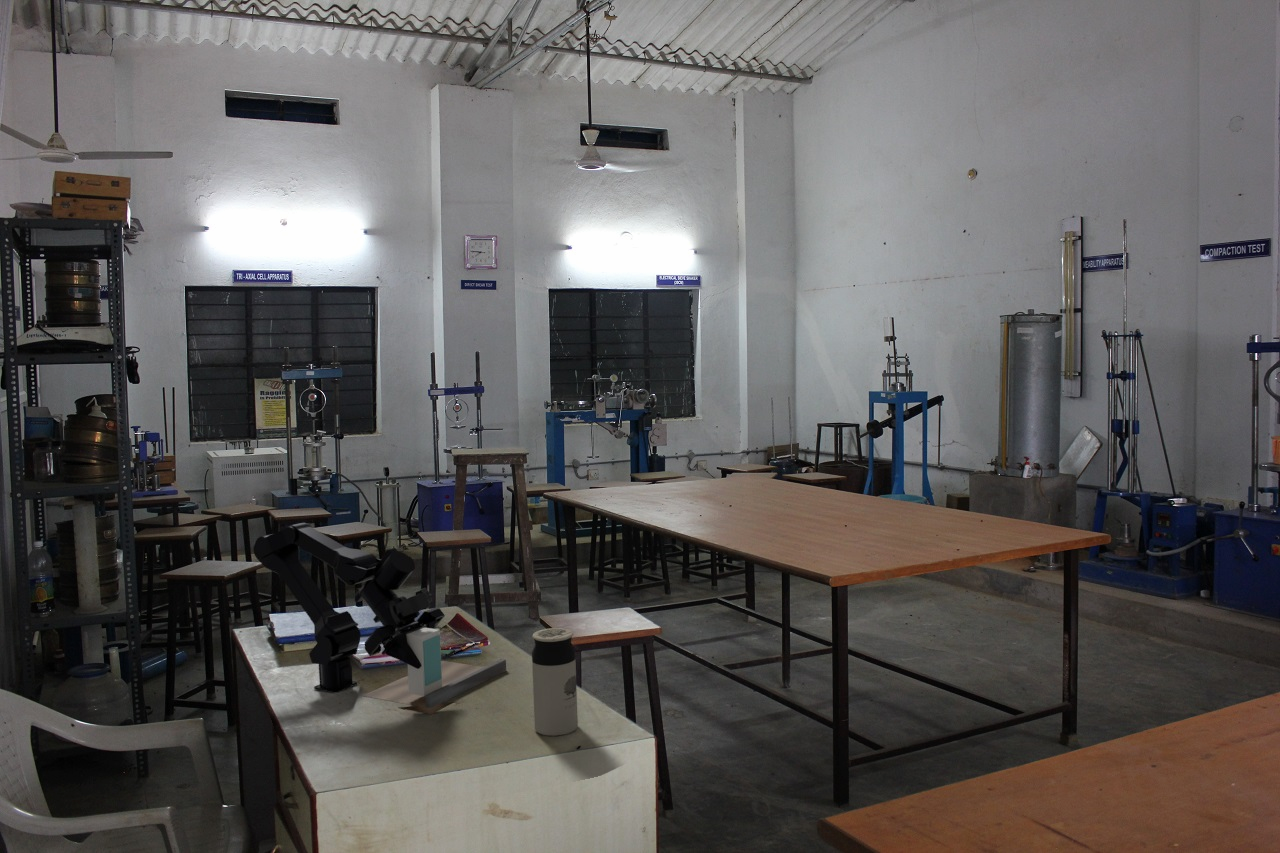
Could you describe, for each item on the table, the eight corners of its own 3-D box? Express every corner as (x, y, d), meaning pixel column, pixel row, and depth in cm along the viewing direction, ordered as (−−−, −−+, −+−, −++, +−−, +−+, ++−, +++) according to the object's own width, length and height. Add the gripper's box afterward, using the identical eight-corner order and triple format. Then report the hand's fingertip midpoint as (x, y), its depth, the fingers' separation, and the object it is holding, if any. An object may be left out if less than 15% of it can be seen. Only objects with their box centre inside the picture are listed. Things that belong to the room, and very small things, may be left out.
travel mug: (526, 730, 177) (522, 634, 175) (557, 717, 182) (554, 625, 181) (554, 740, 171) (551, 642, 170) (586, 727, 177) (583, 632, 176)
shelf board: (362, 701, 195) (361, 684, 195) (442, 665, 217) (441, 650, 217) (430, 714, 186) (429, 696, 186) (506, 675, 208) (505, 659, 208)
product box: (408, 693, 191) (406, 634, 190) (426, 684, 196) (424, 627, 195) (425, 696, 189) (422, 636, 188) (443, 687, 194) (440, 629, 193)
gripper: (372, 589, 185) (419, 651, 180) (435, 569, 201) (479, 626, 197) (344, 624, 189) (389, 686, 185) (408, 602, 205) (451, 659, 201)
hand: (429, 663), depth 192 cm, fingers closed on product box, 5 cm apart
